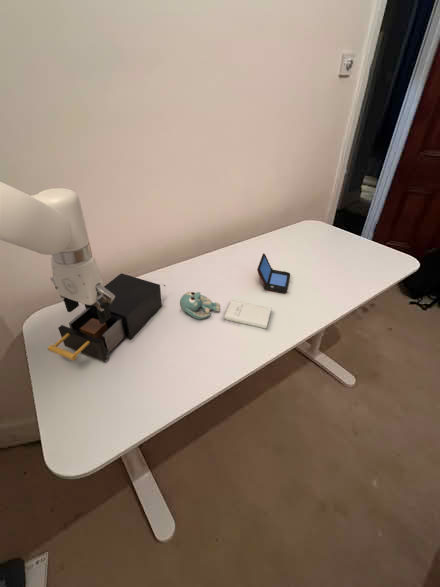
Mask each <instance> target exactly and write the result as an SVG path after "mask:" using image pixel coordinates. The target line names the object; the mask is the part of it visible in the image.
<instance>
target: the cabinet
mask: <svg viewBox="0 0 440 587" xmlns="http://www.w3.org/2000/svg"><path fill="white" fill-rule="evenodd" d="M104 287H105V288H106V289H107V290H109V291H110V292H111V293H113V294H114V295H115V298H114V301H113V303H112V304H111V305H110V306H109V309H110V313H111V314H114V315H117V316H119V317H122V318H125V323H126V328H127V333H128V334H127V335H126V336H125V337H124V339H128V340H132V339H133V338H134V337H136V335H137V334H138V333H139V332H140V331H141V330H142V329H143V327H145V325H147V324H148V322H149V321H150V320H152V318H153V317H154V316H155V315H156V314H157V312H158V311H160V310H161V308H162V307H163V300H162V294H161V293H162V292H161V290H162V289H161V284H159V283H155V282H153V281H149V280H147V279H142V278H139V277H135V276H132V275H128V274H125V273H122V272H120V273H119V274H118V275H116V277H114V278H113V279H112V280H110V281H109V282H108V283H106V284H104ZM97 296H99V295H97ZM97 301H98V302H99V303H100V304H101V305H102V304H103V303H104V302H103V301H102V300H101V299H99V300H97ZM89 306H91V307H93V308H96V309H98V308H97V307H96V306H95V305H94V304H93V305H86V304H84V307H85V308H84V309H87V308H88V307H89Z"/></svg>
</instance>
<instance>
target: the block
mask: <svg viewBox="0 0 440 587" xmlns="http://www.w3.org/2000/svg"><path fill="white" fill-rule="evenodd" d="M107 330H108V329H107V325H106V323H104V324H100V322H99V320H97V319H94V318H92V319H90V320H89V321H88V322H87V323H86V324H85V325H83V326H82V327H81V328H80V331H81V333H84V334H87V335H89V336H92V337H95V338H97V339H100V340H102V341H103V338H102V335H103V334H104V333H105V332H106V331H107Z"/></svg>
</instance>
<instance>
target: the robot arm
mask: <svg viewBox="0 0 440 587" xmlns="http://www.w3.org/2000/svg"><path fill="white" fill-rule="evenodd" d="M82 208H83V207H82V206H81V201H80V197H79V195H78V193H77V192H76V191H74V190H73V189H69V188H65V187H55V188H54V187H53V188H47V189H45V190H41V191H40V192H38V193H37V194H31V195H29V194H27V193H26V192H24V191H21V190H19V189H17V188H15V187H13V186H11V185H9V184H7V183H4V182H2V181H0V240H1V241H2V242H6V243H8V244H12V245H14V246H18V247H21V248H23V249H27V250H30V251H33V252H35V253H38V254H41V255H45V256H51V257H50V264H51V271H52V276H51V277H50V281H51V282H52V284H53V285H54V288H55V290H56V291H57V293H58V294H59V296H60V298H61V299H63V303H64V306H65V309H66V312H68V313H72V312H73V311H74V310H75V309H77V308H78V307H79V306H80V304H84V305H85V304H86V305H93V304H94V305H95V306H96V307H97V308H98V310H97V314H98V318H99V322H100V324H104V323H105V322H106V321H107V320H108V319H109V318H110V317H111V314H110V309H109V306H110V305H111V304H112V303H113V301H114V298H115V295H114V294H113V293H111V292H110V291H109V290H107V289H106V288H105V287H104V286H105V284H104V280H103V277H102V273H101V271H100V269H99V265H98V263H97V261H96V259H95V257H94V256H93V252H92V251H93V250H92V248H91V243H90V238H89V235H88V229H87V226H86V221H85V216H84V213H83V209H82ZM97 295H99V296H97ZM99 299H101V300H102V301H103V302H104V303H103V304H102V305H101V304H100V303H99V302H98V301H97V300H99ZM79 303H80V304H79Z"/></svg>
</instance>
